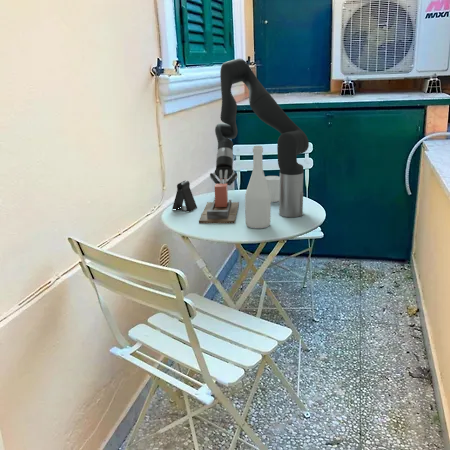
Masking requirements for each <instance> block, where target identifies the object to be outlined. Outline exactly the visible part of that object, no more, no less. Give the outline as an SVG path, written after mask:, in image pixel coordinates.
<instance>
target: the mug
mask: <svg viewBox="0 0 450 450" xmlns="http://www.w3.org/2000/svg"><path fill="white" fill-rule="evenodd" d="M265 178H266V182H267V185H268V188H269V191H270V194H271V203H278V202H279V192H280V176H278V175H267V176H265Z"/></svg>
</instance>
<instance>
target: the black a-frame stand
mask: <svg viewBox="0 0 450 450" xmlns="http://www.w3.org/2000/svg"><path fill="white" fill-rule="evenodd" d="M190 185H191V184H190V181H189V180H183V181H181V182H179V183H177V185H176V194H175V198H174V202H173V205H172V209H176V210H175V211H177V210H182V211H181V212H186V211H189V212H188V213H191V212H193V211H194V210H196V209H197V208H198V205H197V204H196V201H195V199H194V198H195V197H194V195H193V191H192V190H191V186H190ZM183 203H184V204H185V205H183ZM180 207H181V208H180ZM178 208H179V209H178Z"/></svg>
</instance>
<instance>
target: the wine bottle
mask: <svg viewBox="0 0 450 450" xmlns="http://www.w3.org/2000/svg"><path fill="white" fill-rule="evenodd" d="M252 153H253V156H252V157H253V159H252V160H253V161H252V162H253V167H252V172H251V176H250V179H249V182H248V185H247V188H246V191H245V194H244V212H245V213H244V215H245V216H244V217H245V220H244V221H245V225H246V227H248V228H251V229H257V230H258V229H260V230H261V229H266V228H268V227H269V226H270V225H271V219H272V218H271V217H272V216H271V212H272V210H271V209H272V208H271V207H272V202H271V194H270V191H269V188H268V185H267V182H266V178H265V177H266V176H265V175H266V174H265V172H264V168H263V167H264V165H263V153H264V147H263V145H253V148H252Z"/></svg>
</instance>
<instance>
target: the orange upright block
mask: <svg viewBox="0 0 450 450" xmlns="http://www.w3.org/2000/svg"><path fill="white" fill-rule="evenodd" d="M228 188H229V187H228V185H227V184H224V183H223V184H216V183H215V185H214V200H215V207H227V205H228V202H229V196H228V195H229V193H228V192H229V190H228Z"/></svg>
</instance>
